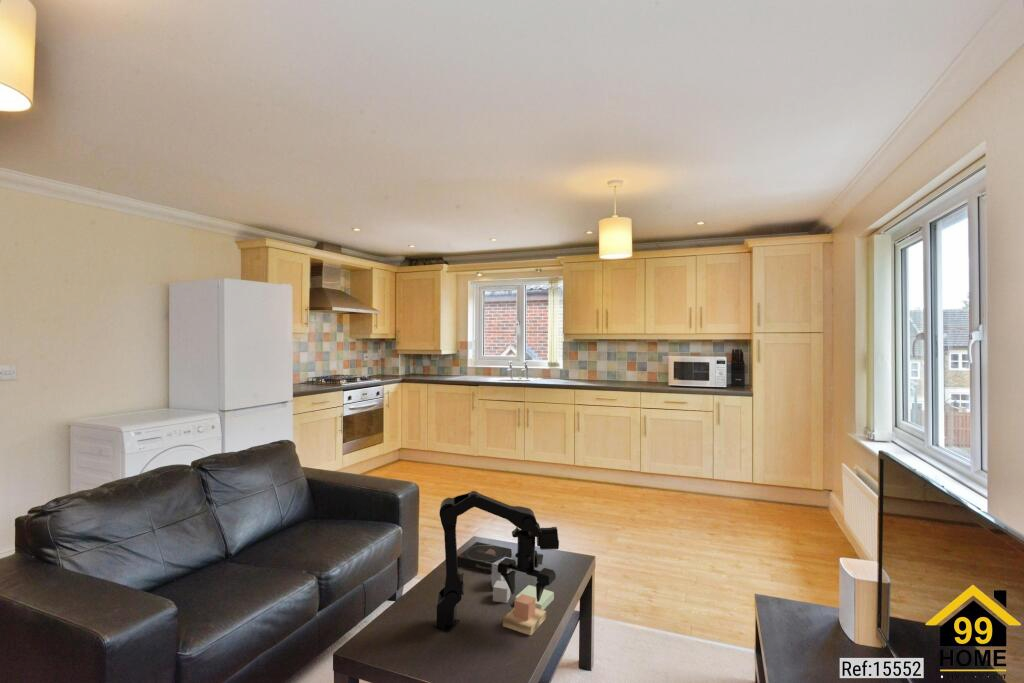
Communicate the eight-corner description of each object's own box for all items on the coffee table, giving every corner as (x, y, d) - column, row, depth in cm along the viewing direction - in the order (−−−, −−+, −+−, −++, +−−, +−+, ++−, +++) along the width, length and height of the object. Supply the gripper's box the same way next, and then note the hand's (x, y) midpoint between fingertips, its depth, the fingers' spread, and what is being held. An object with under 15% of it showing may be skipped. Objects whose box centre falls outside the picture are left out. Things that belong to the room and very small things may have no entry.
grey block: (506, 603, 174) (506, 588, 174) (492, 601, 176) (493, 587, 176) (510, 596, 179) (510, 582, 179) (496, 594, 181) (497, 580, 180)
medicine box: (500, 590, 183) (500, 566, 183) (491, 586, 186) (491, 563, 186) (513, 582, 190) (514, 559, 190) (504, 578, 192) (504, 555, 192)
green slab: (541, 612, 169) (541, 605, 169) (515, 604, 174) (515, 597, 174) (553, 599, 177) (553, 592, 177) (528, 591, 182) (528, 584, 182)
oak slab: (530, 635, 156) (530, 627, 155) (502, 626, 160) (502, 618, 160) (546, 618, 165) (546, 611, 165) (519, 610, 170) (519, 602, 170)
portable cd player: (511, 557, 211) (511, 548, 211) (493, 575, 196) (493, 564, 196) (477, 550, 218) (477, 541, 218) (457, 566, 203) (457, 556, 203)
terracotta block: (528, 620, 159) (528, 604, 159) (514, 615, 162) (514, 600, 162) (535, 613, 164) (535, 597, 164) (521, 608, 166) (521, 593, 166)
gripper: (562, 546, 165) (562, 594, 165) (513, 535, 174) (512, 579, 174) (548, 559, 155) (547, 609, 155) (496, 546, 164) (496, 594, 165)
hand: (525, 597), depth 163 cm, fingers open, 9 cm apart
